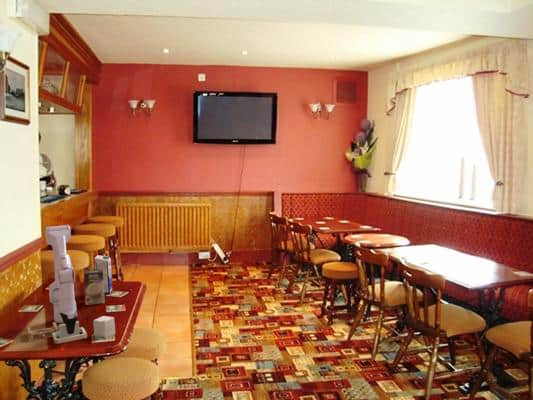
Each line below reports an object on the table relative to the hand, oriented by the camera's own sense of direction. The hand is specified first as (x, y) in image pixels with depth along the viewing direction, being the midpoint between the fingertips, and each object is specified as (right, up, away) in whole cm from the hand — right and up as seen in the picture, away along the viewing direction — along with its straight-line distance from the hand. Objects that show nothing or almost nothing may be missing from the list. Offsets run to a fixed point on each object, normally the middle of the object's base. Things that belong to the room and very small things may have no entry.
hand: (69, 330), depth 205 cm
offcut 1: (-13, -3, 0) cm, 13 cm away
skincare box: (+13, -3, +3) cm, 14 cm away
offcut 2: (-9, -3, +2) cm, 10 cm away
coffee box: (-6, +1, +48) cm, 49 cm away
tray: (0, -4, 0) cm, 3 cm away
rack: (-13, -3, +4) cm, 14 cm away
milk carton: (-6, +3, +65) cm, 66 cm away
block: (0, -3, 0) cm, 3 cm away
